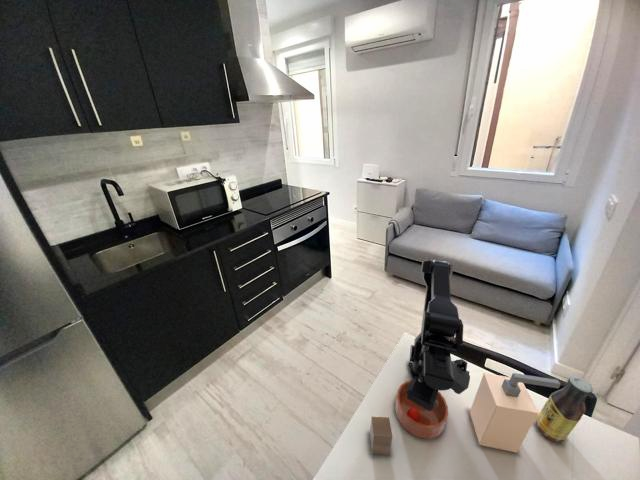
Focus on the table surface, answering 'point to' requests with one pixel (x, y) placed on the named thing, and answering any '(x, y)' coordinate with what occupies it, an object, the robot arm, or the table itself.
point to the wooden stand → (380, 435)
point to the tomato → (413, 414)
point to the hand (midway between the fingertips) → (424, 393)
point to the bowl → (421, 415)
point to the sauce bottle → (564, 409)
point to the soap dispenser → (505, 409)
